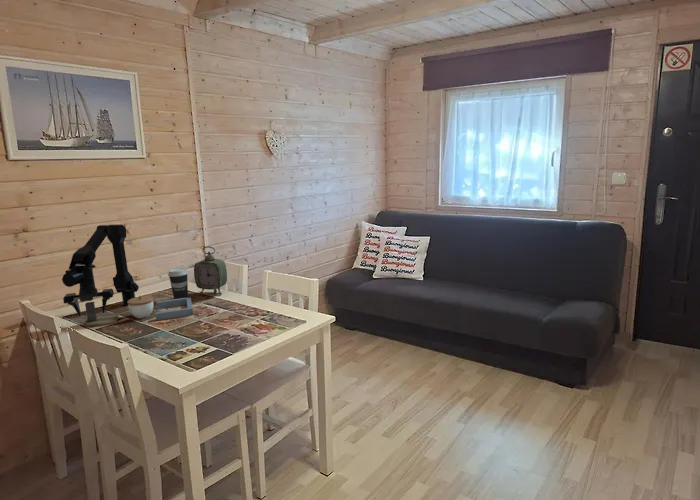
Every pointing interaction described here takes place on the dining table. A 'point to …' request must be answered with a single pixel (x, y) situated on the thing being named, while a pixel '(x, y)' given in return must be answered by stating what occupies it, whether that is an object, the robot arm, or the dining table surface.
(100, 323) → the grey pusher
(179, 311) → the slate frame
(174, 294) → the coffee cup
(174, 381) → the dining table surface
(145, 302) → the lidded jar
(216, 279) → the tabletop clock
